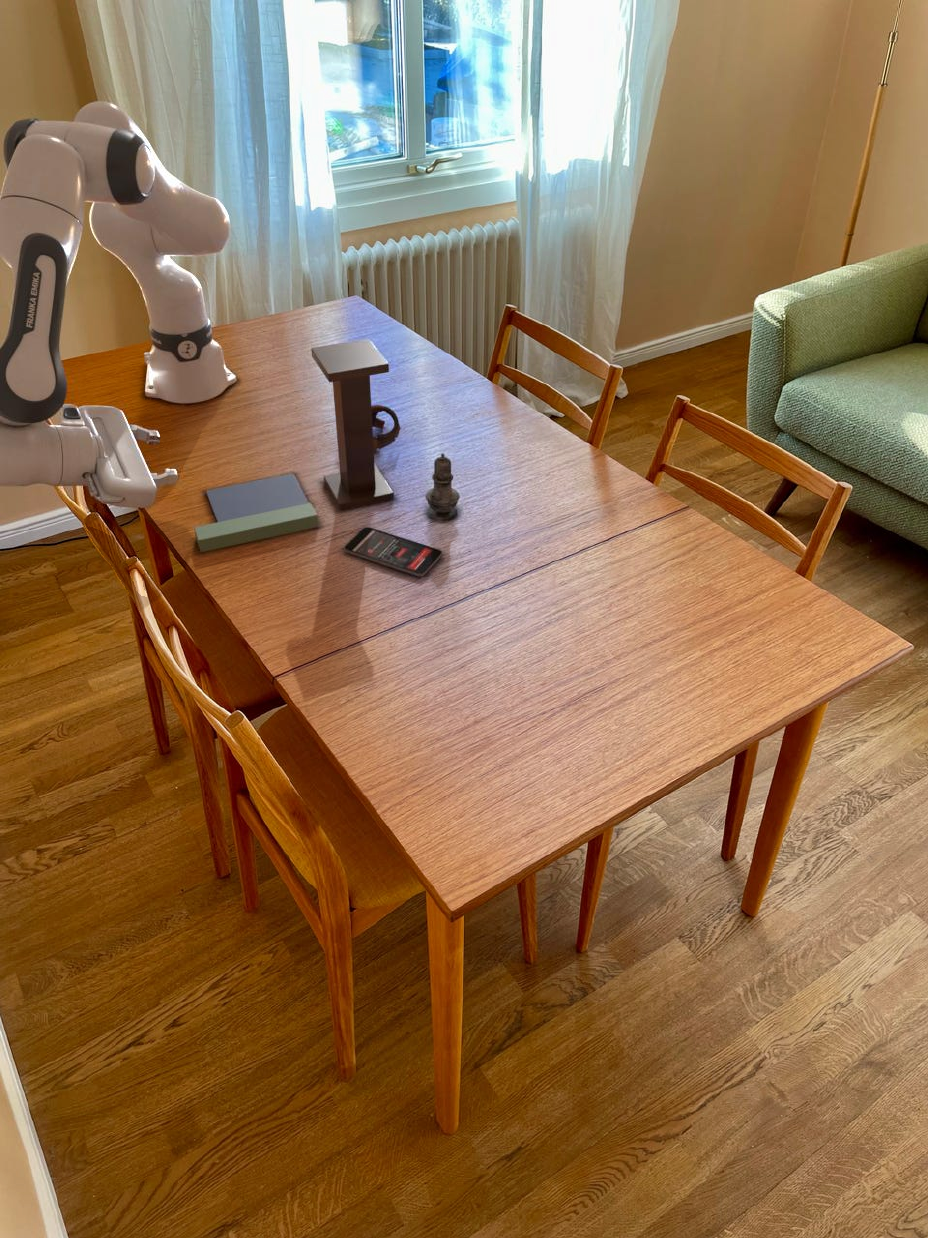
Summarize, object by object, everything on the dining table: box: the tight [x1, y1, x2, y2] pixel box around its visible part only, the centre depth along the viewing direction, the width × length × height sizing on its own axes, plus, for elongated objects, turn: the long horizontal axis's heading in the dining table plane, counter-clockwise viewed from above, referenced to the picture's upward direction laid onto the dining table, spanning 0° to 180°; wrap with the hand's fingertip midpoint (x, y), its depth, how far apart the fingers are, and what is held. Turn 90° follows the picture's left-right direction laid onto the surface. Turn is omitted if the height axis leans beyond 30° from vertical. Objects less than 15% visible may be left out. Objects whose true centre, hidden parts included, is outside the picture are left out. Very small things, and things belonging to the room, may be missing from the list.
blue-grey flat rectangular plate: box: [205, 472, 309, 523], centre depth 167 cm, size 11×16×1 cm
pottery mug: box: [371, 404, 402, 453], centre depth 181 cm, size 12×10×8 cm
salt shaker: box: [425, 452, 461, 523], centre depth 161 cm, size 6×6×12 cm
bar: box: [193, 502, 319, 553], centre depth 159 cm, size 4×20×2 cm, turn 113°
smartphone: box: [343, 526, 443, 578], centre depth 156 cm, size 7×1×15 cm
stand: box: [310, 338, 395, 512], centre depth 161 cm, size 10×10×26 cm
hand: (167, 456), depth 148 cm, fingers open, 8 cm apart
